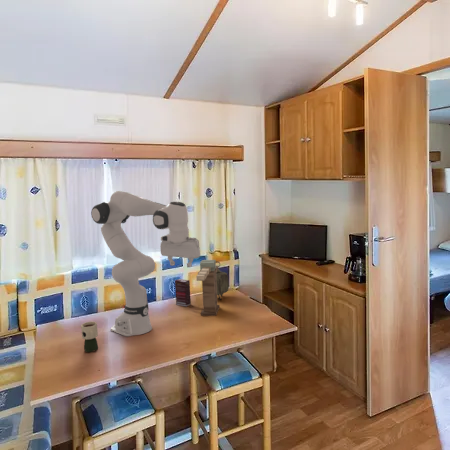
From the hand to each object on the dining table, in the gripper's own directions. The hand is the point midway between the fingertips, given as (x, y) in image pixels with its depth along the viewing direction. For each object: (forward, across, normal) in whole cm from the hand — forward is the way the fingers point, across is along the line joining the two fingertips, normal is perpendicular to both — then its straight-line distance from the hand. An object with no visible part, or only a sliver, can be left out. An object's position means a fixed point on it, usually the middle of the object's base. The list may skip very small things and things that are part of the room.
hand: (180, 266), depth 175 cm
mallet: (+13, +8, -34) cm, 38 cm away
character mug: (+39, +39, +22) cm, 60 cm away
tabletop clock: (+39, +19, -67) cm, 80 cm away
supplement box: (+39, +34, -49) cm, 71 cm away
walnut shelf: (+39, +11, -44) cm, 60 cm away
